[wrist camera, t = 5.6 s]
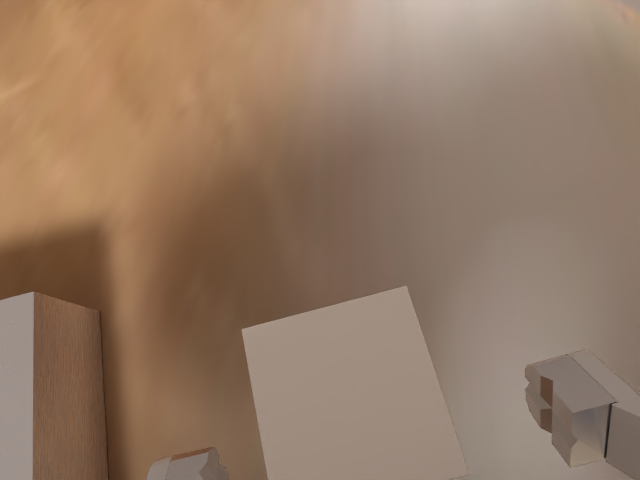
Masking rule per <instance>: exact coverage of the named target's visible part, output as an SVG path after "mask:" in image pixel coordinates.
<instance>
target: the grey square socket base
mask: <svg viewBox="0 0 640 480" xmlns="http://www.w3.org/2000/svg"><path fill="white" fill-rule="evenodd" d="M0 480H108V462H107V443H106V424H105V406H104V387H103V368H102V349H101V330H100V311H97V310H94V309H91V308H87V307H84V306H81V305H77V304H74V303H71V302H67V301H64V300H61V299H57V298H54V297H51V296H47V295H44V294H41V293H37V292H34V291H33V292H29V293H26V294H22V295H18V296H14V297H10V298H6V299H3V300H0Z"/></svg>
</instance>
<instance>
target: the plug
mask: <svg viewBox="0 0 640 480" xmlns="http://www.w3.org/2000/svg"><path fill="white" fill-rule="evenodd" d="M241 330H242V336H243V341H244V347H245V353H246V358H247V364H248V370H249V375H250V381H251V387H252V392H253V398H254V404H255V409H256V415H257V421H258V426H259V432H260V438H261V443H262V449H263V455H264V460H265V466H266V472H267V477H268V480H450V479H454V478H458V477H461V476H465V475H469V471H468V468H467V465H466V462H465V459H464V456H463V453H462V450H461V447H460V444H459V441H458V438H457V435H456V432H455V429H454V426H453V423H452V420H451V417H450V414H449V411H448V408H447V405H446V402H445V399H444V396H443V393H442V390H441V387H440V384H439V381H438V378H437V375H436V372H435V369H434V366H433V363H432V360H431V357H430V354H429V351H428V348H427V345H426V342H425V339H424V336H423V333H422V330H421V327H420V324H419V321H418V318H417V315H416V312H415V309H414V306H413V303H412V300H411V297H410V294H409V291H408V288H407V286H403V287H399V288H395V289H391V290H388V291H384V292H380V293H376V294H372V295H369V296H365V297H361V298H357V299H353V300H350V301H346V302H342V303H338V304H335V305H331V306H327V307H323V308H319V309H316V310H312V311H308V312H304V313H300V314H297V315H293V316H289V317H285V318H281V319H278V320H274V321H270V322H266V323H263V324H259V325H255V326H251V327H247V328H244V329H241Z"/></svg>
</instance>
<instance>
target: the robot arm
mask: <svg viewBox="0 0 640 480" xmlns="http://www.w3.org/2000/svg"><path fill="white" fill-rule="evenodd" d="M525 377H526V378H527V380H528V381H529V382H530V384H529V385H528V387H527V388H526V389H525V392H526V401H527V404H528V407H529V410H530V412H531V414H532V416H533V418H534V419H535V421H536V422H537V424H538V425H539V426H540V428H542V429H544V430H546V431H548V432H550V433H552V444H553V445H554V447H555V448H556V449H557V451H558V452H559V453H560V455H561V456H562V458H563V459H564V460H565V462H566V463H567V464H568V466H569V467H570V468H571V467H575V466H579V465H584V464H588V463H593V462H597V461H601V460H606V462H608V463H609V464H611V465H612V466H614V467H616V468H617V469H619V470H620V471H622V472H624V473H625V474H627V475H629V476H630V477H632V478H633V479H635V480H640V396H639V395H638V394H637V393H636V392H635V391H634V390H633V389H632V388H630V387H629V386H628V385H627V384H626V383H625V382H624V381H623V380H621V379H620V378H619V377H618V376H617V375H616V374H615V373H614V372H613V371H611V370H610V369H609V368H608V367H607V366H606V365H605V364H604V363H602V362H601V361H600V360H599V359H598V358H597V357H596V356H595V355H594V354H592V353H591V352H590V351H587V350H582V351H578V352H574V353H570V354H567V355H562V356H558V357H555V358H551V359H547V360H544V361H540V362H536V363H533V364H529V365H527V366H526V368H525ZM146 480H230V478H229V475H228V472H227V470H226V468H225V467H223V466H221V465H219V454H218V452H217V450H216V449H215V447H210V448H206V449H202V450H197V451H193V452H189V453H184V454H180V455H176V456H172V457H168V458H164V459H160V460H156V461H154V462H153V464H152V465H151V466H150V468H149V472H148V475H147V478H146Z"/></svg>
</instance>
